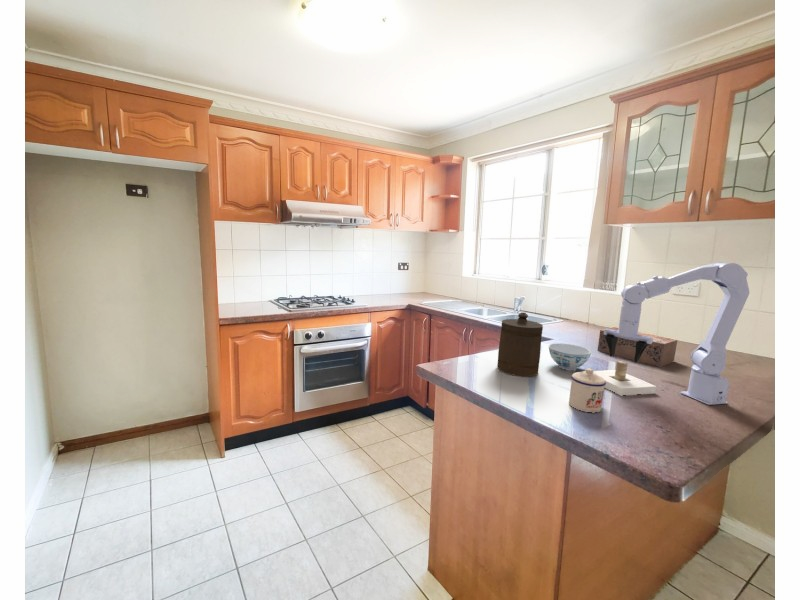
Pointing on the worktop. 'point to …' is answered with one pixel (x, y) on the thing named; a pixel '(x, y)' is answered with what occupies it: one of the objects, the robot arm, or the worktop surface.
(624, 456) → the worktop surface
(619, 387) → the socket plate
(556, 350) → the chinaware
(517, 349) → the wooden container
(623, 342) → the tissue box cover
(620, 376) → the peg
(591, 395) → the teacup with lid
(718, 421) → the worktop surface
